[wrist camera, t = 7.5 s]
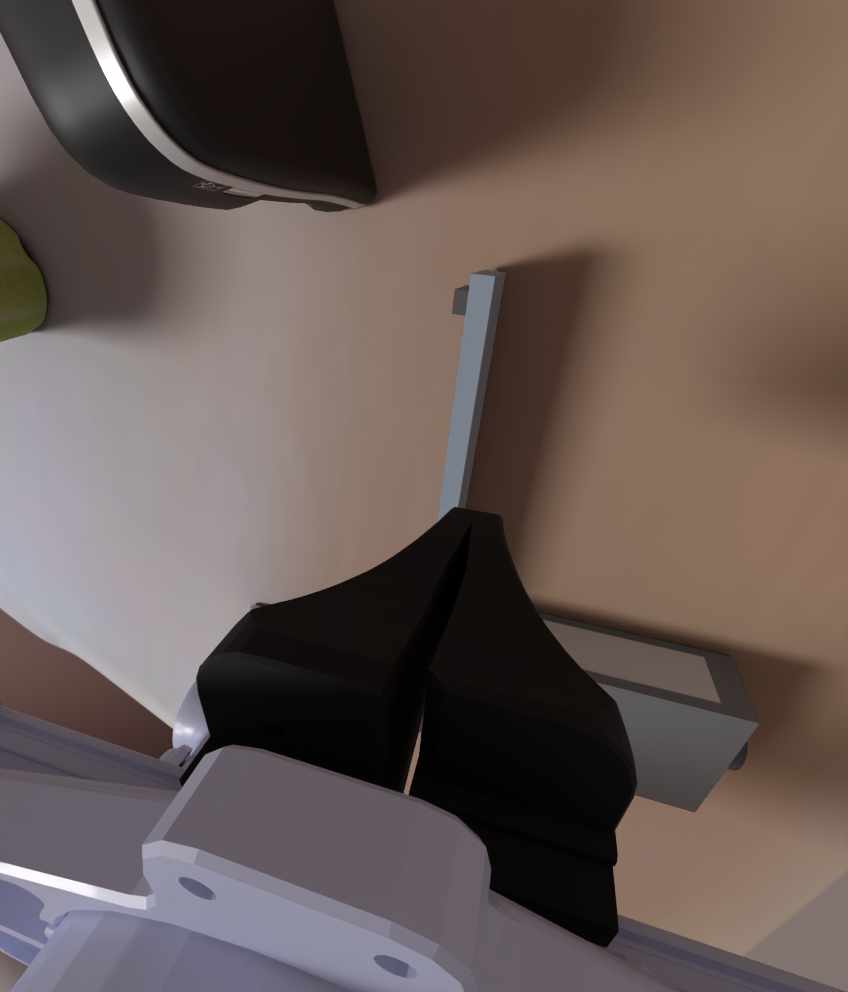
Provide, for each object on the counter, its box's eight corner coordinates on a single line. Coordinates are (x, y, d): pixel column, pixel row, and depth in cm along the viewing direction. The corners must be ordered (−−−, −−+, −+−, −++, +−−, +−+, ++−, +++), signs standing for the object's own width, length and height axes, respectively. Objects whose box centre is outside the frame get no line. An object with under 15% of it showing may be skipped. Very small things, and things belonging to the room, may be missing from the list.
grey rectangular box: (430, 677, 31) (412, 738, 27) (440, 589, 27) (421, 645, 23) (695, 748, 28) (717, 828, 24) (751, 660, 24) (789, 739, 20)
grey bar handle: (452, 592, 26) (438, 640, 23) (428, 586, 26) (410, 632, 23) (508, 272, 18) (498, 276, 14) (471, 268, 18) (453, 271, 15)
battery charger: (239, 18, 16) (-225, -330, 7) (330, -31, 15) (-78, -548, 5) (303, 232, 19) (48, 210, 10) (384, 205, 18) (183, 150, 8)
